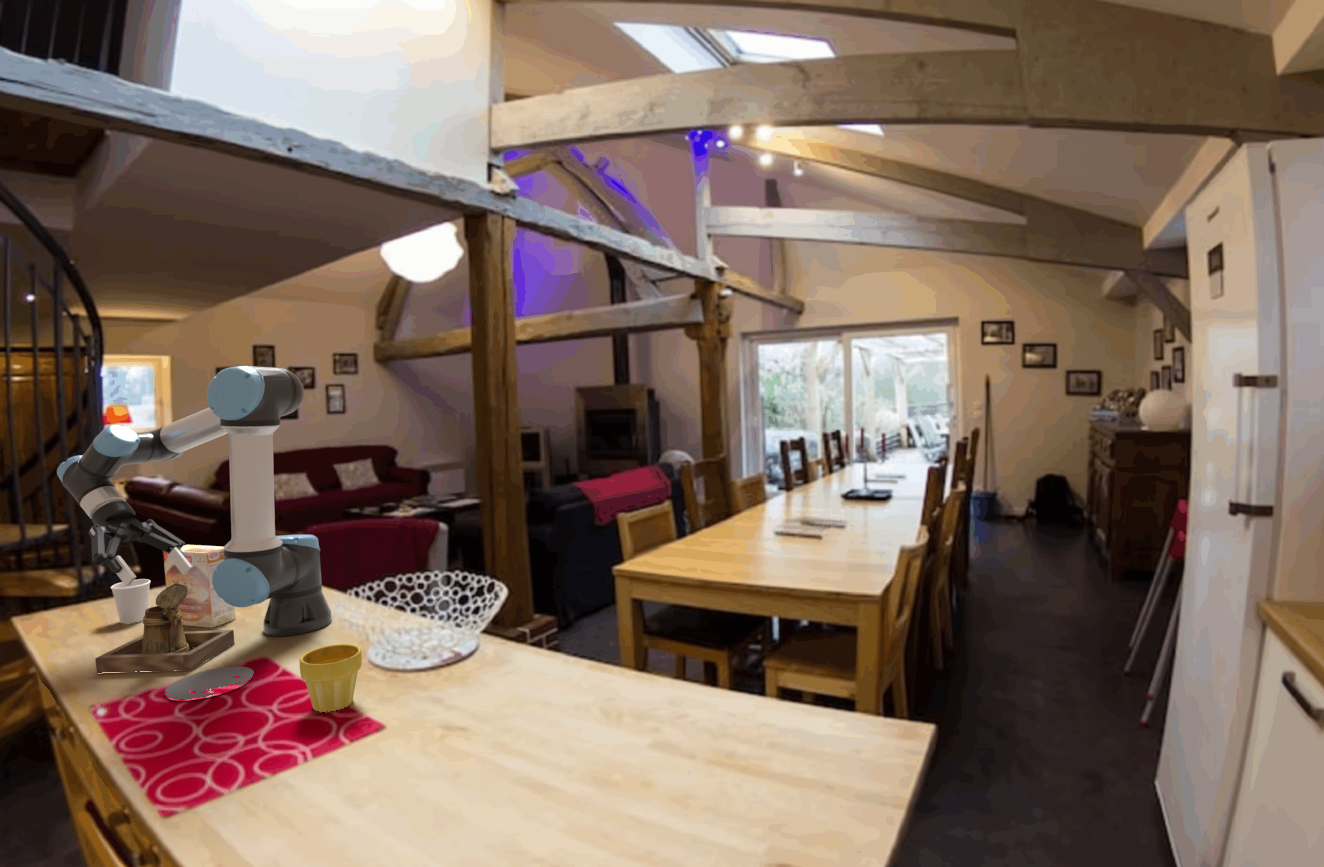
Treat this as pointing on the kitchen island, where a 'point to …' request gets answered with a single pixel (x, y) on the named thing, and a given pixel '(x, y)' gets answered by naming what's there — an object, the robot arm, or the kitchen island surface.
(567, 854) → the kitchen island surface
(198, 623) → the coffeecake box
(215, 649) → the frame
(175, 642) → the wooden mug
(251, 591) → the robot arm
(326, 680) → the plant pot
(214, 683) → the grey mat
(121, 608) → the dixie cup
